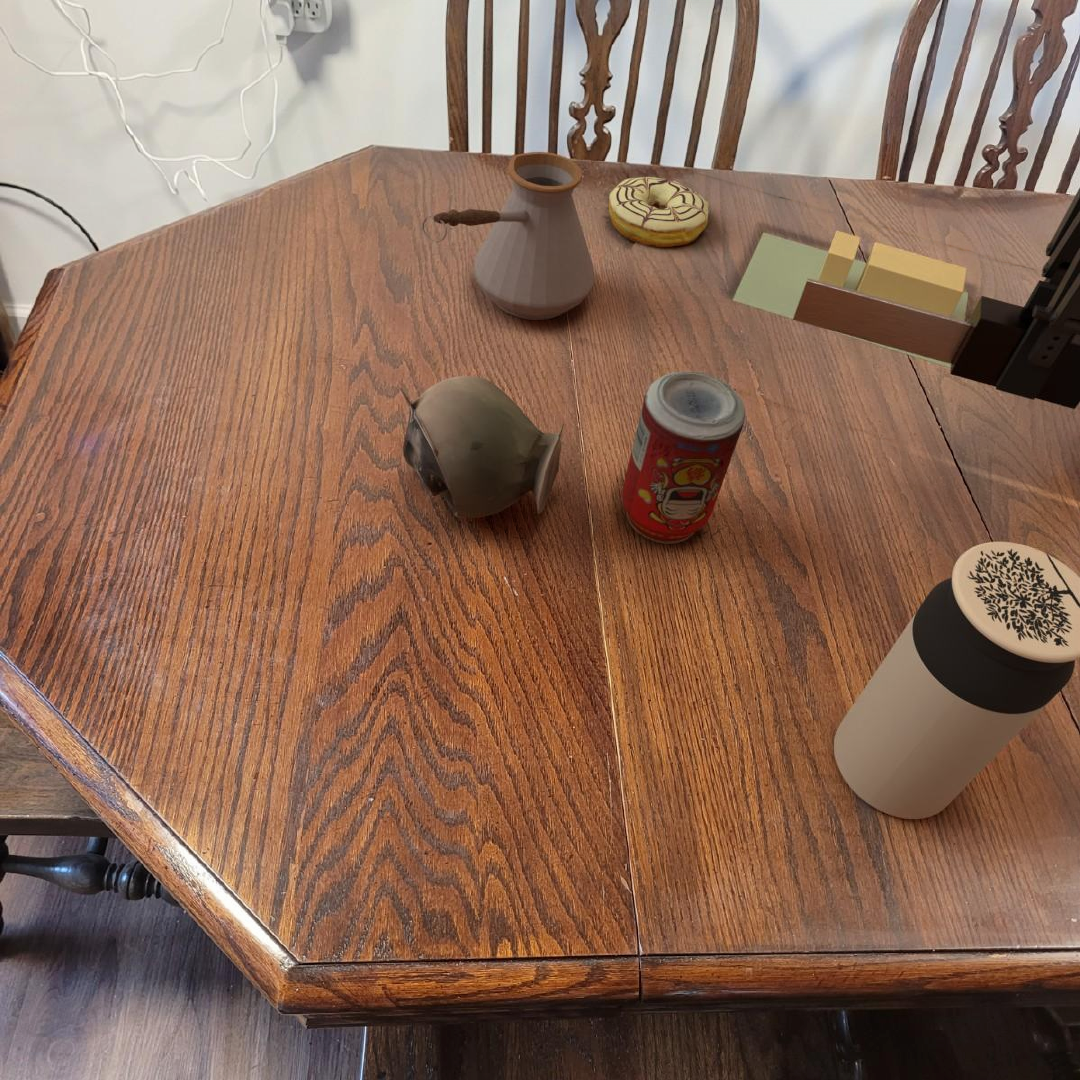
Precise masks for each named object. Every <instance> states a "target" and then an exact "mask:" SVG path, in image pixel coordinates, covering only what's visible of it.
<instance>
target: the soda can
mask: <svg viewBox="0 0 1080 1080" xmlns="http://www.w3.org/2000/svg"><path fill="white" fill-rule="evenodd" d="M745 419H746V409H745V405H744V402H743V400H742V399H741V397H740V395H739V394H738V393H737V392H736V391H735V389H734V388H733V387H731V386H730V385H729V384H727V383H725V382H724V381H723V380H721V379H718V378H717V377H714V376H711V375H708V374H706V373H703V372H698V371H683V370H682V371H676V372H670V373H667V374H664V375H662V376H660V377H658V378H657V379H655V380H654V381H653V382H652V383H650V385H649V387H648V388H647V390H646V392H645V395H644V398H643V403H642V407H641V410H640V414H639V419H638V423H637V428H636V432H635V436H634V440H633V444H632V447H631V452H630V456H629V460H628V465H627V470H626V473H625V476H624V477H625V478H624V482H623V485H622V491H621V500H622V501H621V502H622V504H623V507H624V510H625V512H626V518H627V521H628V522H629V524H630V526H631V527H632V529H634V531H635V532H636V533H637V534H639V535H640V536H642V537H644V538H645V539H648V540H650V541H652V542H656V543H659V544H670V545H671V544H678V543H680V542H681V543H682V542H684V541H686V540H688V539H689V538H692V536H693V535H694V534H695V533H696V532H697V531H700V530H701V529H702V528H704V526H705V525H706V524H707V523H708V521H709V520H710V518H711V516H712V515H713V512H714V509H715V506H716V503H717V500H718V497H719V494H720V491H721V489H722V487H723V483H724V480H725V477H726V475H727V472H728V469H729V466H730V463H731V460H732V458H733V454H734V452H735V449H736V447H737V444H738V441H739V439H740V436H741V433H742V430H743V429H744V428H743V427H744V424H745Z"/></svg>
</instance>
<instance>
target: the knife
mask: <svg viewBox="0 0 1080 1080" xmlns="http://www.w3.org/2000/svg"><path fill="white" fill-rule="evenodd" d="M1032 313H1033V309H1029V308H1025V307H1024V306H1021V305H1017V304H1013V303H1010V302H1007V301H1003V300H998V299H996V298H991V297H988V296H984V295H981V296H980V298H979V300H978V301H977V304H976V306H975V307H974V309H973V311H972V313H971V315H970V317H969V319H968V320H967V321H966V320H964V321H963V320H959V319H956V318H952V317H948V316H945V315H941V314H937V313H934V312H930V311H926V310H923V309H919V308H916V307H912V306H908V305H905V304H901V303H897V302H894V301H890V300H886V299H883V298H879V297H875V296H872V295H868V294H864V293H861V292H857V291H853V290H850V289H846V288H842V287H839V286H835V285H832V284H828V283H824V282H821V281H817V280H813V279H810V278H808V279H807V281H806V284H805V287H804V290H803V292H802V295H801V298H800V301H799V303H798V306H797V309H796V312H795V314H794V317H793V319H792V320H793V321H796V322H798V323H802V324H808V325H811V326H814V327H817V328H820V327H821V328H820V329H823V328H824V329H823V330H827V329H828V330H827V331H830V330H831V331H830V332H833V331H835V332H834V333H836V332H838V333H837V334H839V333H842V334H841V335H843V334H846V335H849V336H853V337H856V338H860V339H863V340H867V341H871V342H874V343H878V344H881V345H885V346H888V347H892V348H895V349H899V350H903V351H906V352H910V353H913V354H917V355H920V356H924V357H928V358H931V359H935V360H938V361H942V362H945V363H949V364H951V368H950V371H949V372H950V373H949V374H950V375H952V376H955V377H958V378H959V377H960V378H963V379H966V380H970V381H973V382H977V383H980V384H984V385H987V386H991V387H993V388H996V383H997V381H998V379H999V378H1000V376H1001V374H1002V373H1003V371H1004V369H1005V368H1006V366H1007V364H1008V363H1009V361H1010V359H1011V357H1012V356H1013V354H1014V352H1015V351H1016V349H1017V347H1018V346H1019V344H1020V342H1021V341H1022V339H1023V337H1024V336H1025V334H1026V332H1027V330H1028V328H1029V327H1030V325H1031V323H1032V322H1033V320H1034V318H1033V317H1032ZM846 335H845V336H846ZM849 336H848V337H849ZM856 338H855V339H856ZM1035 399H1037V400H1040V401H1044V402H1048V403H1052V404H1054V405H1057V406H1062V407H1065V408H1067V409H1068V408H1069V409H1072V410H1076V409H1077V407H1078V406H1079V404H1080V335H1077V334H1076V335H1075V337H1074V338H1073V340H1072V342H1071V343H1070V345H1069V346H1068V348H1067V349H1066V351H1065V352H1064V354H1063V355H1062V357H1061V359H1060V360H1059V362H1058V363H1057V365H1056V366H1055V368H1054V369H1053V371H1052V373H1051V374H1050V376H1049V377H1048V379H1047V380H1046V382H1045V383H1044V385H1043V386H1042V388H1041V390H1040V391H1039V393H1038V394H1037V396H1036V397H1035Z"/></svg>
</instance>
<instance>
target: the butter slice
mask: <svg viewBox="0 0 1080 1080" xmlns="http://www.w3.org/2000/svg"><path fill="white" fill-rule="evenodd" d="M861 239H862V238H861V236H857V235H854V234H851V233H846V232H843V231H840V230H835V233H834V235H833V238H832V241H831V243H830V246H829V249H828V250H827V251H828V254H827V257H826V259H825V262H824V265H823V267H822V270H821V273H820V275H819V278H818V281H821V282H824V283H828V284H832V285H835V286H839V287H842V288H843V286H844V284H845V281H846V279H847V276H848V274H849V271H850V269H851V266H852V264H853V261H854V259H855V258H856V255H857V252H858V249H859V246H860V242H861ZM855 260H856V259H855Z"/></svg>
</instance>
